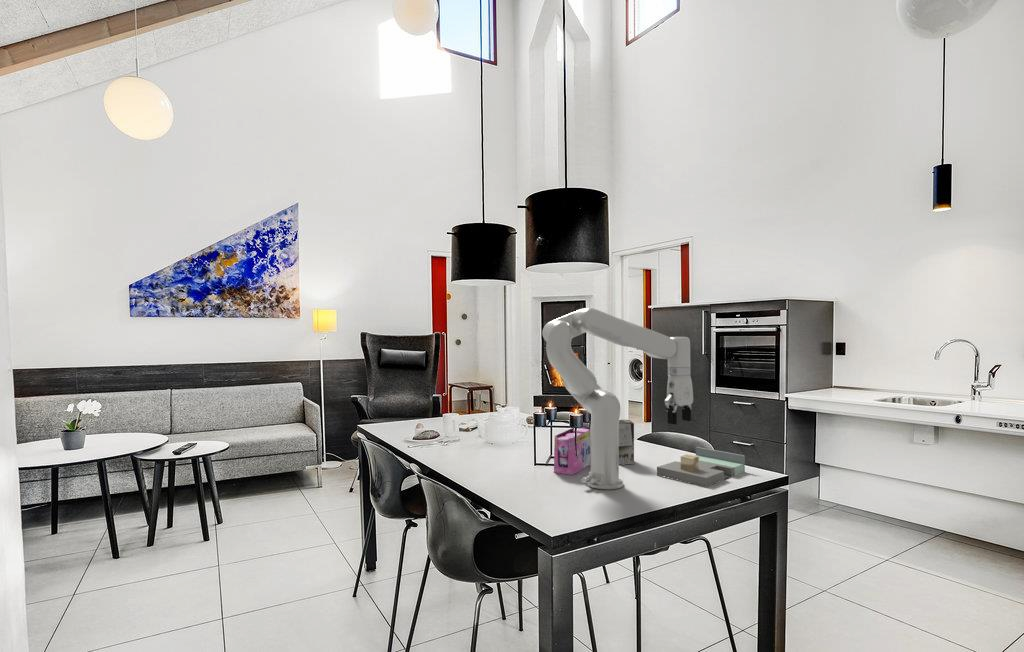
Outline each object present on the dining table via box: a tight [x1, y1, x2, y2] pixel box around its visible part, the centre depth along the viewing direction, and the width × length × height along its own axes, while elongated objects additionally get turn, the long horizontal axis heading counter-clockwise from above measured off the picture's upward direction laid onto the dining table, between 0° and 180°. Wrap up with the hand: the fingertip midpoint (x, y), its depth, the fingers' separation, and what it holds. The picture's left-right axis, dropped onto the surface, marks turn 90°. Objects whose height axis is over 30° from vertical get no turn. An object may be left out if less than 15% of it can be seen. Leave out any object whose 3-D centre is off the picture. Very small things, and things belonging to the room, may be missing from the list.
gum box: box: [553, 426, 590, 476], centre depth 203 cm, size 24×8×14 cm, turn 152°
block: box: [680, 454, 699, 471], centre depth 188 cm, size 4×4×4 cm
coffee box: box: [618, 419, 635, 465], centre depth 211 cm, size 9×6×16 cm
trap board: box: [656, 446, 746, 487], centre depth 193 cm, size 28×19×6 cm
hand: (679, 422), depth 184 cm, fingers open, 8 cm apart
